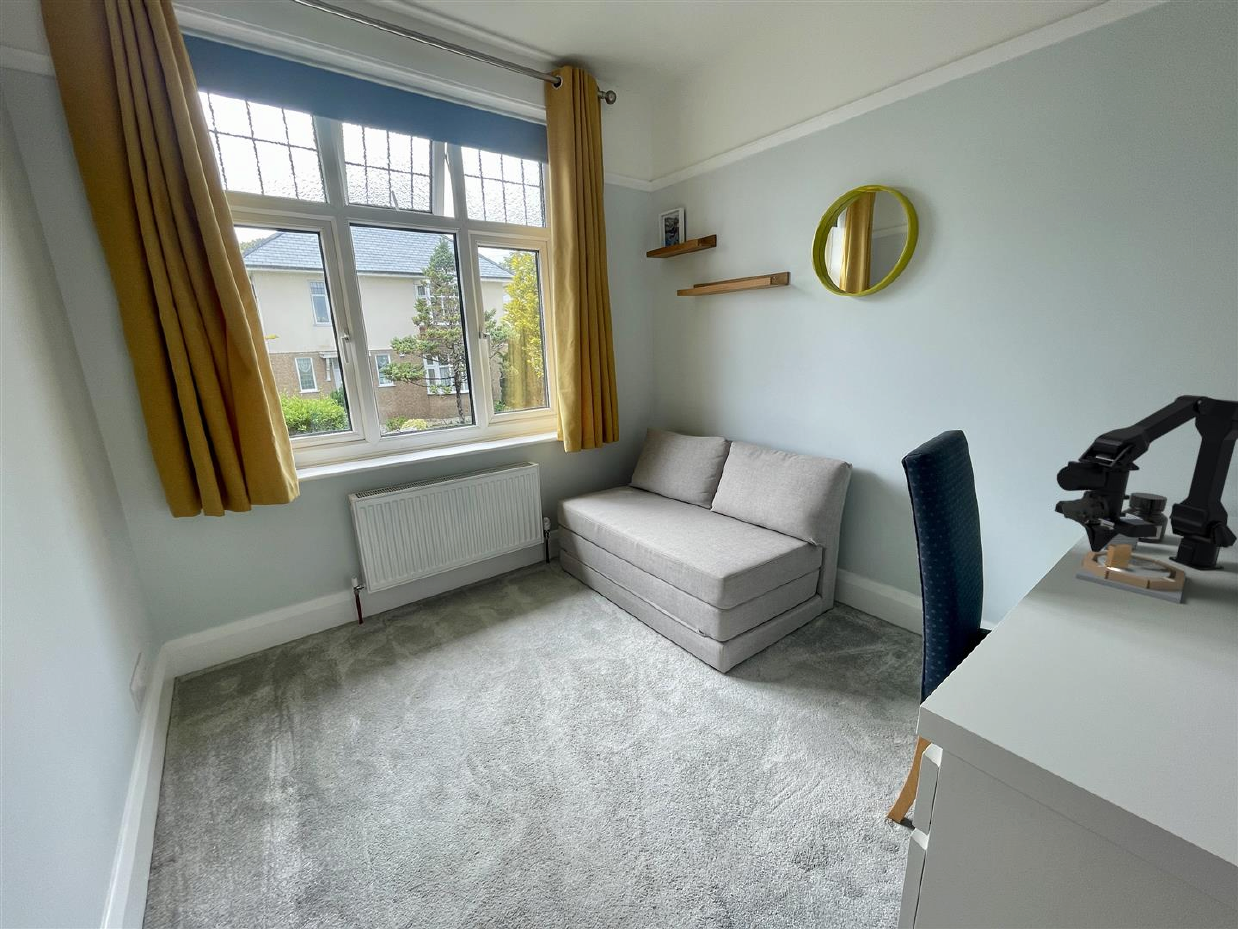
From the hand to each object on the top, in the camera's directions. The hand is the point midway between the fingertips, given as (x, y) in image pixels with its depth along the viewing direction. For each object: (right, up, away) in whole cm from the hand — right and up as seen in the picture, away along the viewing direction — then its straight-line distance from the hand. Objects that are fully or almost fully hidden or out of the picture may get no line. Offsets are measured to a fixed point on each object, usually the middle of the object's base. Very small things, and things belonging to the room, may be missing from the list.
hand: (1095, 551), depth 116 cm
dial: (+4, -4, -4) cm, 7 cm away
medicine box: (+18, -1, +14) cm, 23 cm away
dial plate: (+5, -5, -4) cm, 8 cm away
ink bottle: (+31, 0, +19) cm, 36 cm away
